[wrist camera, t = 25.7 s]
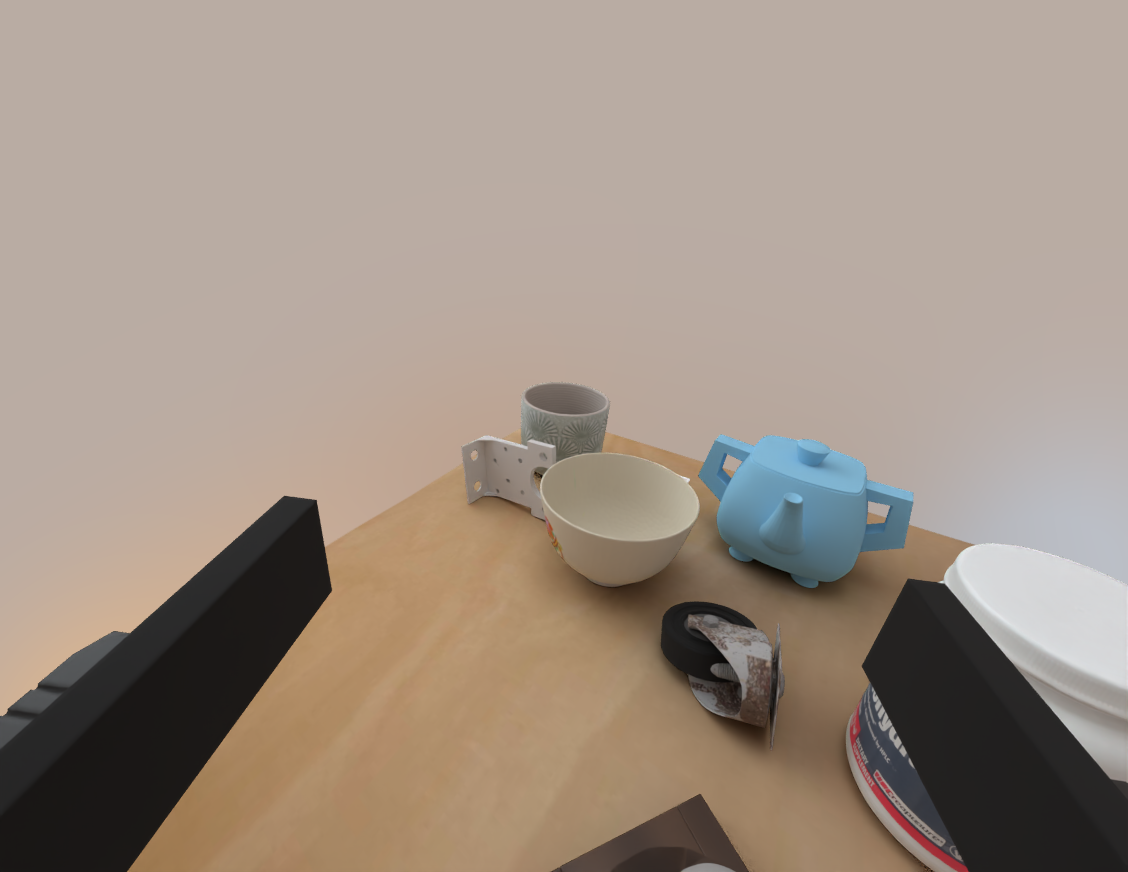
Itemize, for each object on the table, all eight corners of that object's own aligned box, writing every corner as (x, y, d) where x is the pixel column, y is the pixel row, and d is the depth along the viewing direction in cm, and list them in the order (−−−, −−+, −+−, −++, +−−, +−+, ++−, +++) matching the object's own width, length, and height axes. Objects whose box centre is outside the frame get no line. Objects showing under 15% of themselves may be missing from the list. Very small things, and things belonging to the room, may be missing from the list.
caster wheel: (668, 635, 49) (776, 661, 45) (642, 714, 38) (780, 756, 35) (672, 573, 47) (784, 595, 44) (647, 638, 37) (790, 674, 33)
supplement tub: (804, 715, 39) (891, 533, 31) (944, 706, 41) (1060, 532, 33) (928, 930, 28) (1115, 731, 20) (1114, 904, 30) (1355, 713, 22)
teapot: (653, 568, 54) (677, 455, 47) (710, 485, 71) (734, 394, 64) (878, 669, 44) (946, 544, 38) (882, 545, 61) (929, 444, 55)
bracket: (468, 510, 62) (460, 438, 59) (492, 497, 66) (485, 427, 62) (536, 537, 56) (531, 459, 52) (558, 521, 59) (555, 445, 56)
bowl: (545, 515, 61) (550, 445, 57) (672, 531, 60) (688, 461, 56) (523, 612, 47) (528, 527, 42) (690, 635, 46) (713, 551, 41)
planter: (594, 494, 66) (604, 421, 61) (507, 478, 68) (510, 406, 63) (605, 453, 77) (614, 389, 72) (530, 440, 79) (534, 377, 74)
